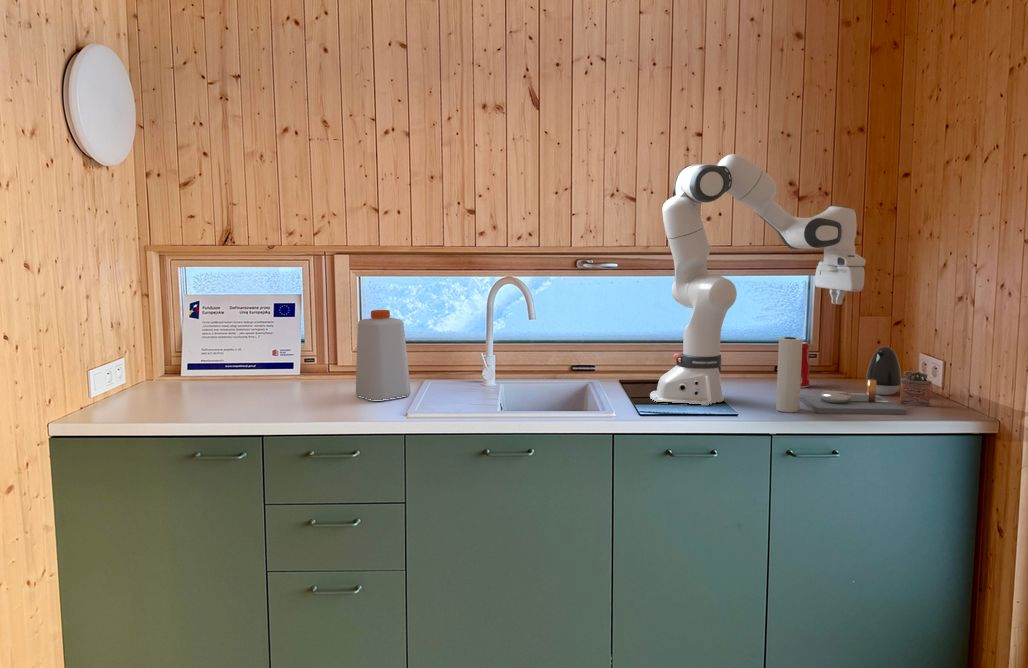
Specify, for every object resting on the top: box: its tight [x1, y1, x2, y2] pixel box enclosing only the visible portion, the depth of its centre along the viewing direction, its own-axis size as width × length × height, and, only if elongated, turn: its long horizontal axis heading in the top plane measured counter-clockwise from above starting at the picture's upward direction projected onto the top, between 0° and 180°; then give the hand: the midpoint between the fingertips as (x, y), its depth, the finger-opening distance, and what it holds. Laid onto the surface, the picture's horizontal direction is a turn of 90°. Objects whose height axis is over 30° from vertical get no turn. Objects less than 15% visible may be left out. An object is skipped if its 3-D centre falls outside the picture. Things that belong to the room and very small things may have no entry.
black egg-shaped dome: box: [865, 346, 903, 396], centre depth 228 cm, size 10×10×15 cm
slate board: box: [800, 393, 906, 415], centre depth 213 cm, size 24×18×2 cm
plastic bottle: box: [355, 309, 412, 400], centre depth 231 cm, size 15×15×28 cm
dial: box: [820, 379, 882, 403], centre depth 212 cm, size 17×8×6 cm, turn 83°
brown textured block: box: [898, 370, 933, 408], centre depth 213 cm, size 8×3×10 cm, turn 59°
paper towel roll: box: [775, 336, 804, 413], centre depth 207 cm, size 7×6×21 cm
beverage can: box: [800, 341, 810, 389], centre depth 240 cm, size 6×6×15 cm
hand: (836, 304), depth 223 cm, fingers closed
